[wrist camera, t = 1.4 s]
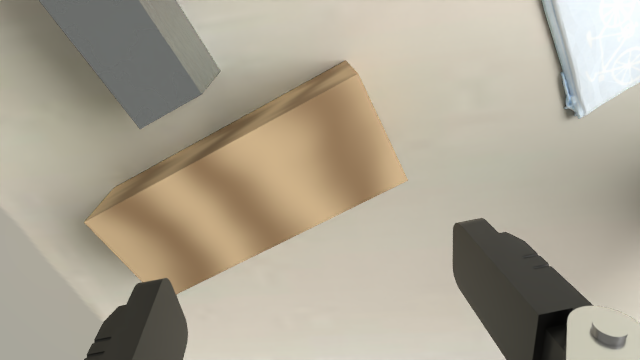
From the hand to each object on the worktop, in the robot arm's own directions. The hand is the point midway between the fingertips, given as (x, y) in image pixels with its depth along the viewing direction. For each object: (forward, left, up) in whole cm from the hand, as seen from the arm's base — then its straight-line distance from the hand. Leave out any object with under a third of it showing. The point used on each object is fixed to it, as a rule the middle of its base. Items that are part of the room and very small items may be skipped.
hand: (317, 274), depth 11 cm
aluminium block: (+6, -10, -19) cm, 23 cm away
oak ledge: (+6, +3, -19) cm, 20 cm away
